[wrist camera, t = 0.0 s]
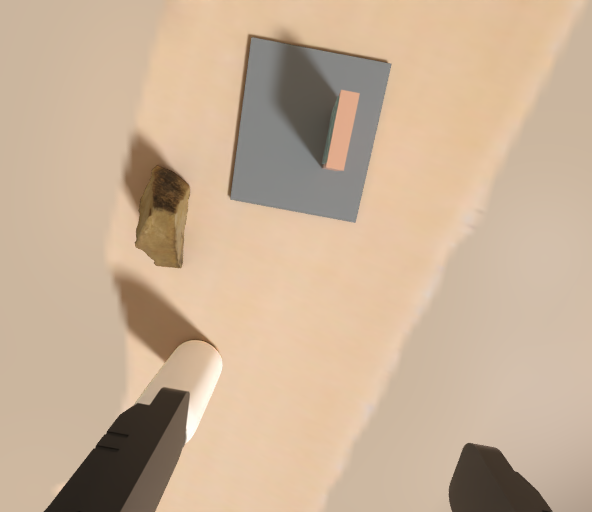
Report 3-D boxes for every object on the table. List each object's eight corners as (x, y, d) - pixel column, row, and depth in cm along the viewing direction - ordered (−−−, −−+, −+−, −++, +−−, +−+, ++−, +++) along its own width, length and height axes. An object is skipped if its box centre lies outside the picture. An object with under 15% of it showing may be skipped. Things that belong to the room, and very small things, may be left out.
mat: (252, 39, 33) (251, 37, 33) (389, 65, 33) (391, 63, 33) (231, 199, 37) (230, 199, 37) (354, 221, 37) (355, 222, 37)
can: (173, 335, 41) (120, 398, 30) (224, 341, 41) (192, 406, 30) (172, 380, 43) (122, 457, 31) (222, 386, 43) (190, 465, 31)
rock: (191, 293, 38) (234, 224, 34) (113, 297, 31) (157, 210, 27) (154, 234, 43) (188, 168, 39) (80, 225, 36) (114, 145, 32)
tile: (332, 108, 34) (339, 89, 26) (348, 111, 34) (359, 93, 26) (320, 168, 35) (324, 166, 28) (335, 171, 35) (343, 170, 28)
